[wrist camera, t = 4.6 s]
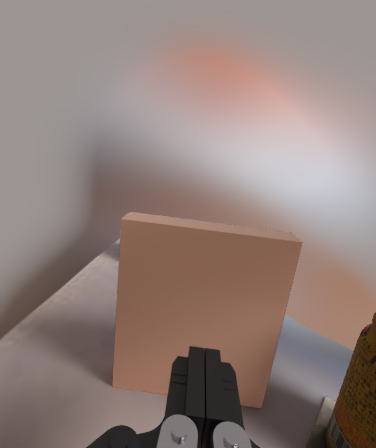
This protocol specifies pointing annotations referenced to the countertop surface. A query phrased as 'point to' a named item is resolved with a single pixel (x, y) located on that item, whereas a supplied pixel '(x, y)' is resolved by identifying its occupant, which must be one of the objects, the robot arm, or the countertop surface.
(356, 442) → the condiment
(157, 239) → the tile
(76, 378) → the countertop surface
